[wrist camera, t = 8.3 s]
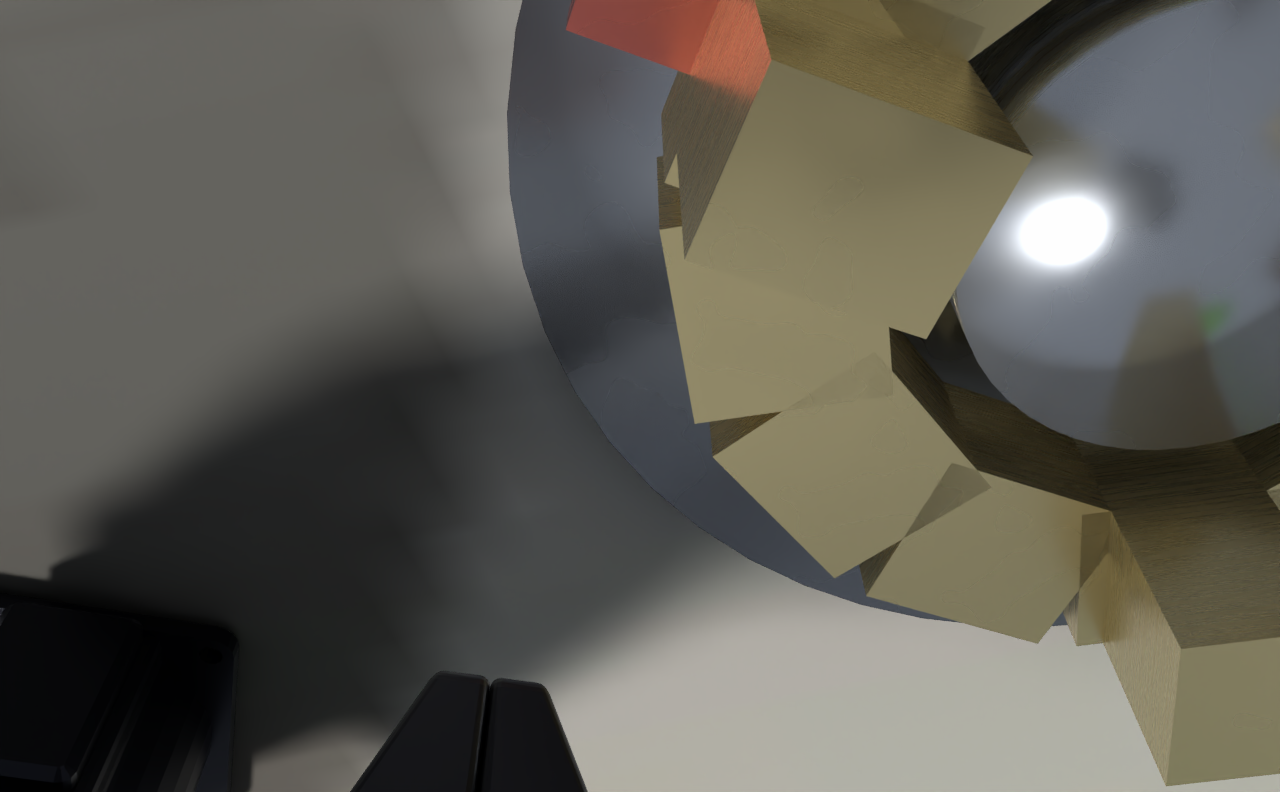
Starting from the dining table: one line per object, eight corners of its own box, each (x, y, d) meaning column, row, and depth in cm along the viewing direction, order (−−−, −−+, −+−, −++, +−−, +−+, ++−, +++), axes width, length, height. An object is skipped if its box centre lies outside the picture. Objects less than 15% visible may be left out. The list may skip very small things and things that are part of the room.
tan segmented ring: (1941, -132, 16) (2447, -18, 12) (1258, 623, 24) (1402, 866, 20) (805, -708, 13) (897, -861, 8) (444, 383, 21) (390, 608, 16)
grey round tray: (1332, 640, 27) (1435, 798, 24) (439, 487, 24) (408, 637, 21) (2135, -408, 16) (2550, -403, 13) (673, -882, 14) (686, -1041, 10)
